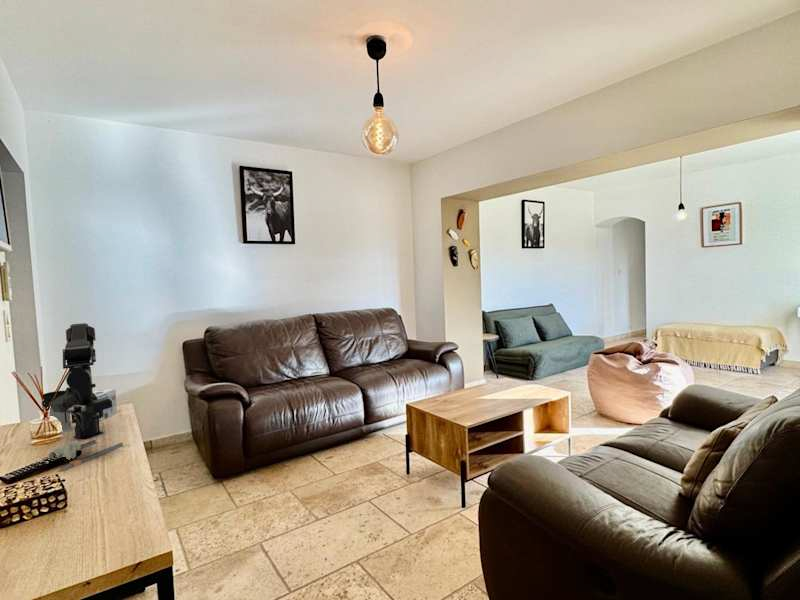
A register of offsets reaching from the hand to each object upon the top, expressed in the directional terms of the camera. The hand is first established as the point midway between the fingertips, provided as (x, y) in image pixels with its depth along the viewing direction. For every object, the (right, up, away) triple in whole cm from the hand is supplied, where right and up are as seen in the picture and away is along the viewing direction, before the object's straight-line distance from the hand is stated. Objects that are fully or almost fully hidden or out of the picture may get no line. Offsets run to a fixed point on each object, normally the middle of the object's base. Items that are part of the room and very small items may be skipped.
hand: (84, 430), depth 133 cm
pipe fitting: (+1, -6, -3) cm, 7 cm away
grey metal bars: (0, -8, -2) cm, 8 cm away
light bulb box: (-22, -7, +37) cm, 44 cm away
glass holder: (-24, -8, +22) cm, 34 cm away
